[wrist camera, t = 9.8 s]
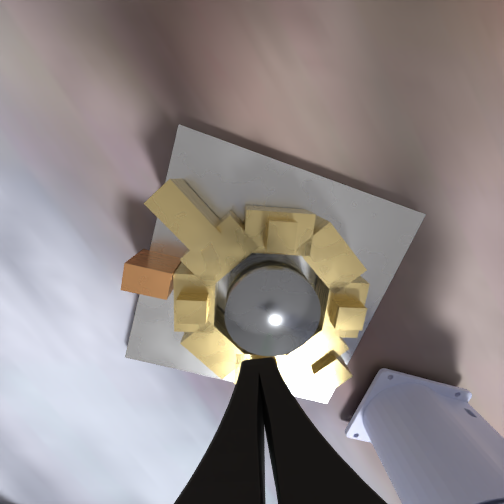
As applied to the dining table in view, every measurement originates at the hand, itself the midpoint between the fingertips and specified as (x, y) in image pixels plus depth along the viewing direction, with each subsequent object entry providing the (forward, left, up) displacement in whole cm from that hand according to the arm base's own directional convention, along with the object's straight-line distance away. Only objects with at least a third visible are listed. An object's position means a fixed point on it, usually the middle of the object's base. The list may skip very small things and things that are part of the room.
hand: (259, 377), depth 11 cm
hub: (-1, 0, -10) cm, 10 cm away
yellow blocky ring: (-1, 0, -9) cm, 9 cm away
